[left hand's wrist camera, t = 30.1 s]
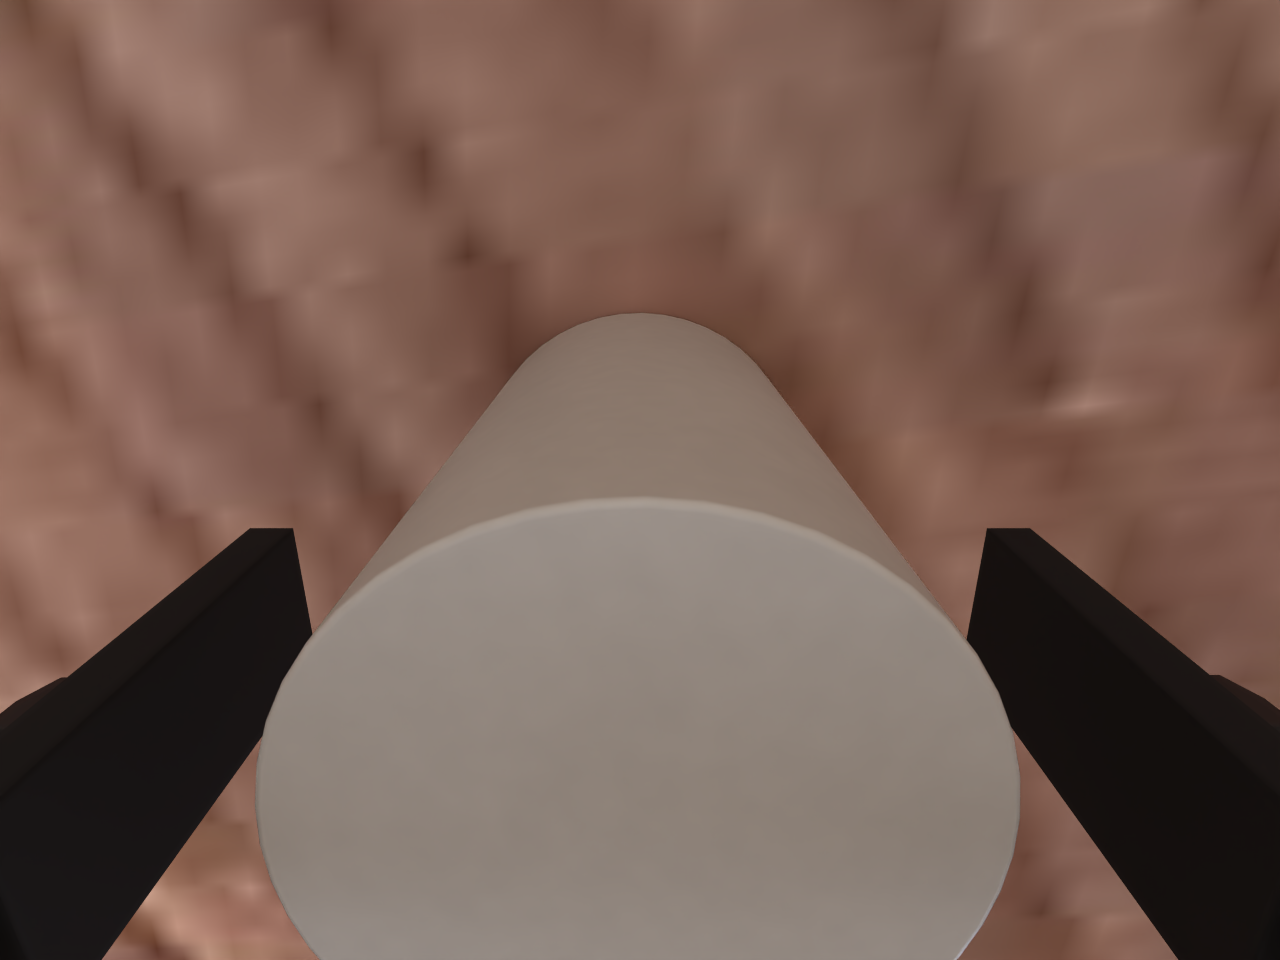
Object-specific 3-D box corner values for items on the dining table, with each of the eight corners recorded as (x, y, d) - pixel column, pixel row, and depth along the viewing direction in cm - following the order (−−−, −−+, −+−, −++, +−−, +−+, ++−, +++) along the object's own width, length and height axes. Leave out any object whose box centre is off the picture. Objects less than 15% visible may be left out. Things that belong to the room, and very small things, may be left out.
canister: (841, 523, 20) (1120, 958, 8) (584, 646, 21) (519, 1165, 10) (705, 250, 17) (836, 329, 6) (424, 409, 19) (79, 729, 7)
